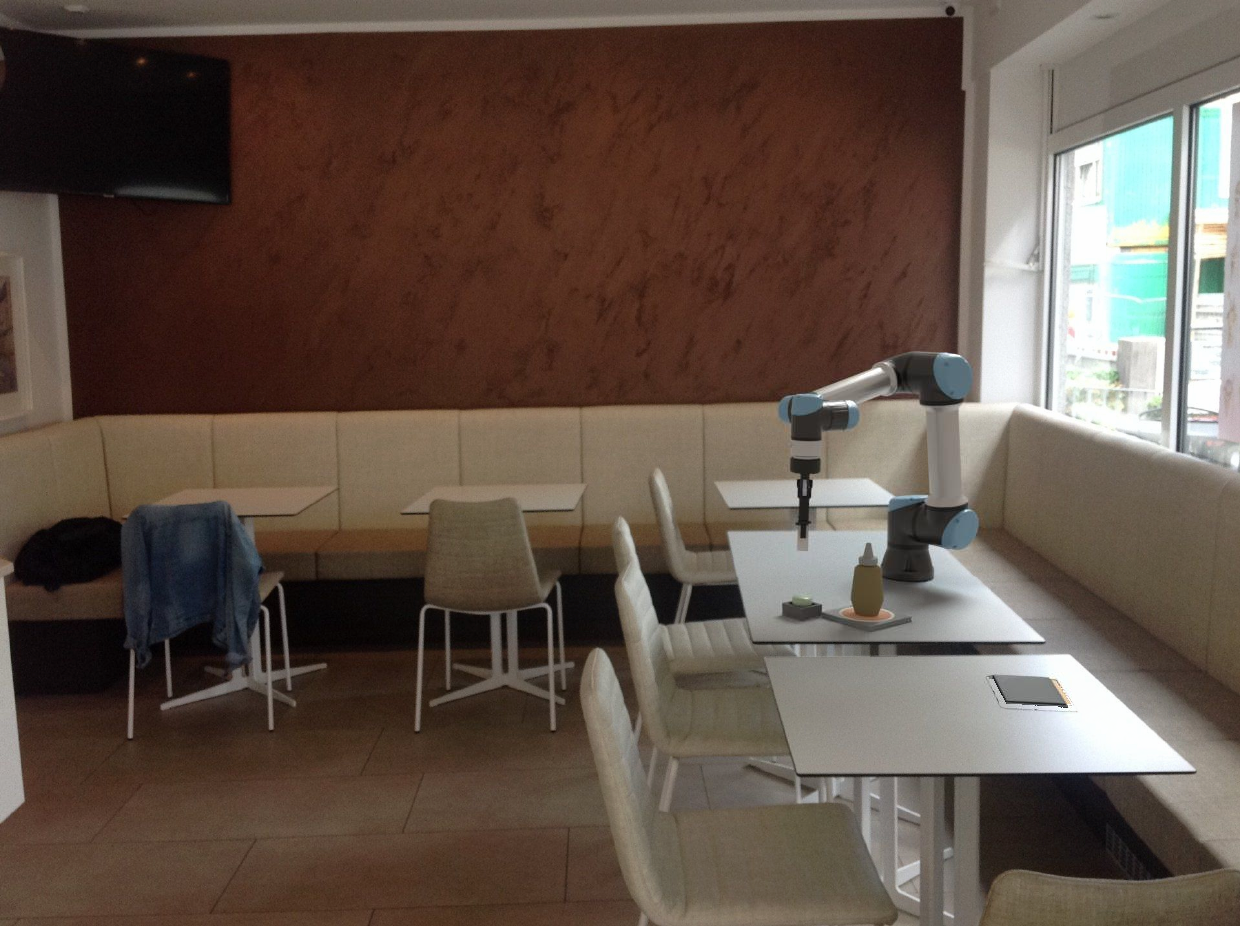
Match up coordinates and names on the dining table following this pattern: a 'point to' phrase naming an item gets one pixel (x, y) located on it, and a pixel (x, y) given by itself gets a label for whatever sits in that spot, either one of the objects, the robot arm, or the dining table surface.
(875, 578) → the squeeze bottle
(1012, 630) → the dining table surface
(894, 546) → the robot arm
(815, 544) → the dining table surface
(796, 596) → the button
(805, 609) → the button housing
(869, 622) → the print board
